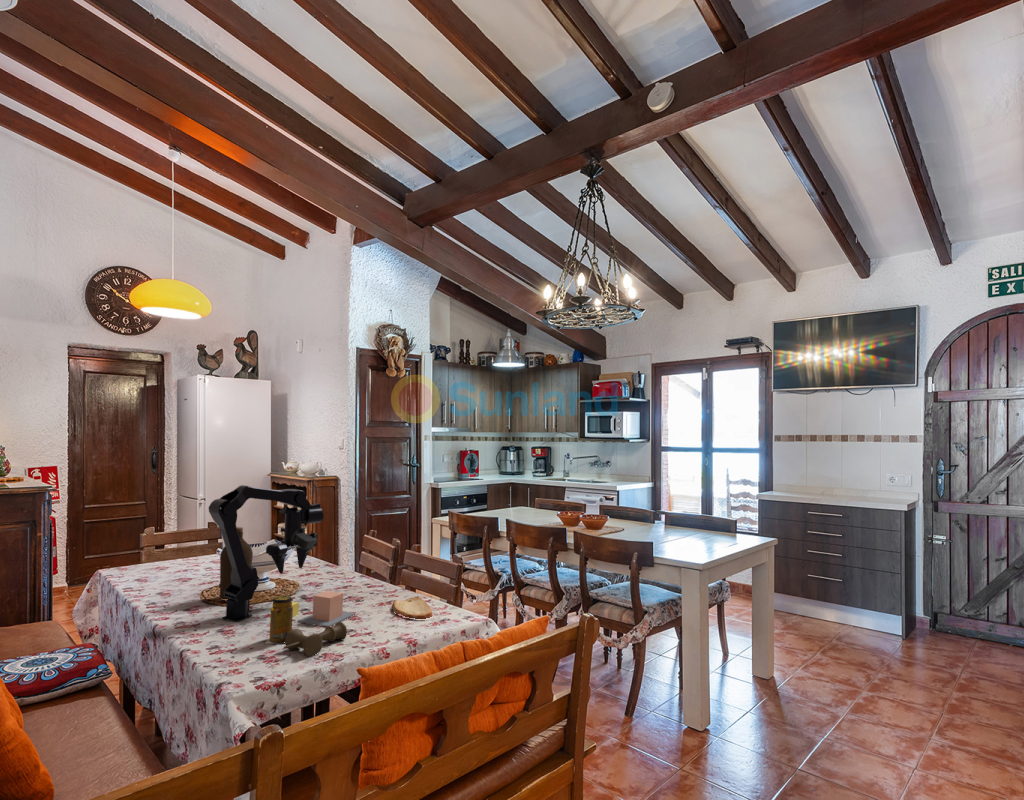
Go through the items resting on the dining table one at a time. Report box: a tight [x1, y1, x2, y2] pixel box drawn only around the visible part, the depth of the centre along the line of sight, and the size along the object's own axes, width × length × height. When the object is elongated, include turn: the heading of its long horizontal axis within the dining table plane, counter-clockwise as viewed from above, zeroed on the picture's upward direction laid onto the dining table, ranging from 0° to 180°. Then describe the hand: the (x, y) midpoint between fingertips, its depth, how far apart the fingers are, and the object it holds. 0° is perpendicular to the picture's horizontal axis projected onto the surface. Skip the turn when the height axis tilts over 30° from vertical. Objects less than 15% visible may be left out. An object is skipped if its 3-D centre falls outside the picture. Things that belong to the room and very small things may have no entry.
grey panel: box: [297, 610, 357, 628], centre depth 190 cm, size 14×12×1 cm
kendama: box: [283, 621, 348, 657], centre depth 165 cm, size 6×10×20 cm
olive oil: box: [218, 526, 254, 599], centre depth 210 cm, size 11×11×25 cm
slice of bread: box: [391, 595, 434, 619], centre depth 200 cm, size 18×18×4 cm
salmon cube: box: [312, 590, 344, 621], centre depth 190 cm, size 7×7×7 cm
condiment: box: [264, 595, 294, 645], centre depth 171 cm, size 7×8×12 cm
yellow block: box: [292, 601, 300, 618], centre depth 192 cm, size 4×4×4 cm
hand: (291, 570), depth 203 cm, fingers open, 9 cm apart
